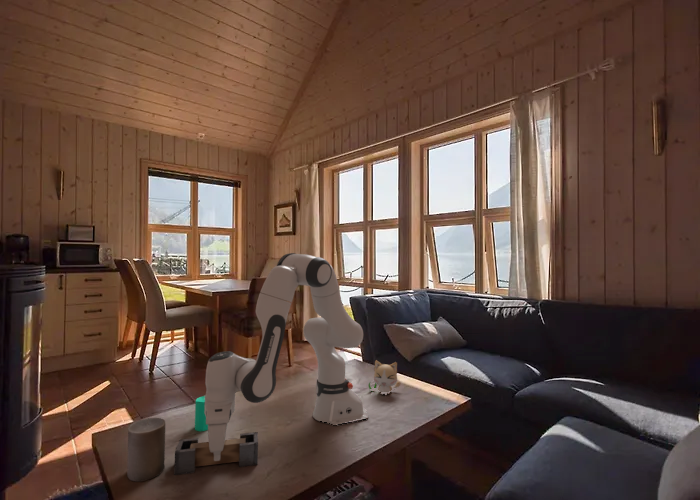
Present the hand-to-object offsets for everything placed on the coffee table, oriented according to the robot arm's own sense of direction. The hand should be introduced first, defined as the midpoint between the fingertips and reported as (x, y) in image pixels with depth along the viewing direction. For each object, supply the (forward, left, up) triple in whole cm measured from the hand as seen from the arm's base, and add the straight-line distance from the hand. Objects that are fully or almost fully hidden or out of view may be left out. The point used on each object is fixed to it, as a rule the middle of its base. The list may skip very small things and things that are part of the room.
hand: (218, 451), depth 112 cm
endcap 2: (-9, 0, -4) cm, 10 cm away
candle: (+7, -25, -4) cm, 26 cm away
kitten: (-71, -43, -4) cm, 83 cm away
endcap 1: (+9, 0, -4) cm, 10 cm away
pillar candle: (+20, 0, -4) cm, 20 cm away
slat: (0, 0, -3) cm, 3 cm away
